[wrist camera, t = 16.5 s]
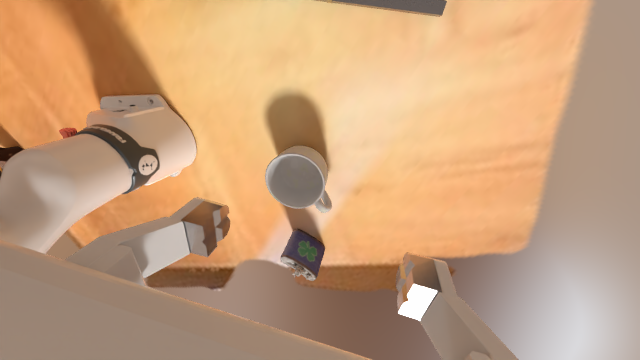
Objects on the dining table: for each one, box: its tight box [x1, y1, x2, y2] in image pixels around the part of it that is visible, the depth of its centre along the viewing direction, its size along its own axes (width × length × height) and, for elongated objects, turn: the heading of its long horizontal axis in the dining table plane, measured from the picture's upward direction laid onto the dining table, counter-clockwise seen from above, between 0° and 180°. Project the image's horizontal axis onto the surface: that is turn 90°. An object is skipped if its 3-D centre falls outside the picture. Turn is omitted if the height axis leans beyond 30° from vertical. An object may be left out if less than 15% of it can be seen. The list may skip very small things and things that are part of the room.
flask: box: [281, 229, 325, 281], centre depth 52 cm, size 9×3×11 cm, turn 57°
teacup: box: [265, 146, 332, 213], centre depth 44 cm, size 14×11×8 cm
